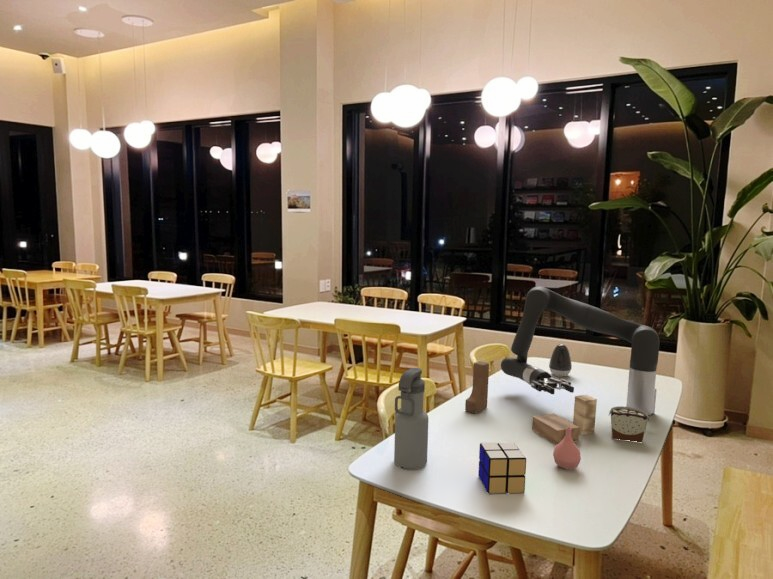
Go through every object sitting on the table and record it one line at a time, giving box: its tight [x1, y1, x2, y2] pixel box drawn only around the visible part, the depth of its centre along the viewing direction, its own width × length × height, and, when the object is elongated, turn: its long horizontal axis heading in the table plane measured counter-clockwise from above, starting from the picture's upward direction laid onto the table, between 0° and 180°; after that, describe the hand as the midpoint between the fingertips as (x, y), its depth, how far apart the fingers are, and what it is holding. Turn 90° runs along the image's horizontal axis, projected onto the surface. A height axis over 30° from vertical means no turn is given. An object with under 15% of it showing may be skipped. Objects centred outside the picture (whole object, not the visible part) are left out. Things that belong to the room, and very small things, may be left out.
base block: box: [531, 413, 580, 445], centre depth 173 cm, size 9×13×5 cm
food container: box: [608, 405, 651, 443], centre depth 172 cm, size 12×6×10 cm, turn 71°
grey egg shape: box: [548, 343, 573, 378], centre depth 244 cm, size 10×10×15 cm
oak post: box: [572, 394, 598, 435], centre depth 177 cm, size 5×5×12 cm
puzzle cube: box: [477, 441, 527, 494], centre depth 139 cm, size 10×10×10 cm
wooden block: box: [464, 360, 490, 414], centre depth 195 cm, size 9×4×18 cm, turn 138°
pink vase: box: [552, 427, 582, 470], centre depth 149 cm, size 8×8×12 cm
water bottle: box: [393, 367, 429, 470], centre depth 149 cm, size 10×10×28 cm
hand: (563, 390), depth 187 cm, fingers open, 8 cm apart
